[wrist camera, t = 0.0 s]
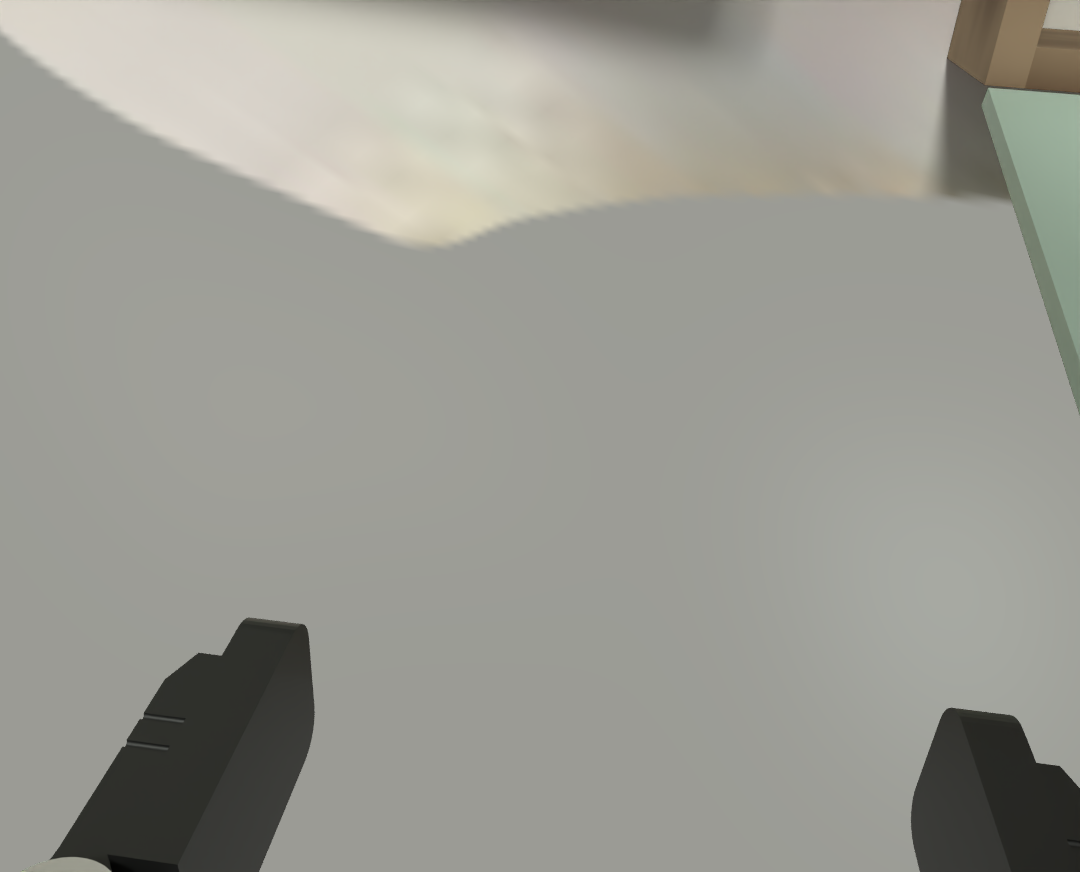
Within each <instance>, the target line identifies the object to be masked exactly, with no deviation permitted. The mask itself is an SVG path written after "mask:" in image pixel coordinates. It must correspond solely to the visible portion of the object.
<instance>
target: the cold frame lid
mask: <svg viewBox="0 0 1080 872" xmlns="http://www.w3.org/2000/svg"><path fill="white" fill-rule="evenodd" d="M981 106H982V109H983V112H984V115H985V118H986V122H987V125H988V128H989V131H990V134H991V137H992V140H993V144H994V147H995V150H996V153H997V156H998V159H999V162H1000V166H1001V169H1002V172H1003V175H1004V178H1005V181H1006V184H1007V188H1008V191H1009V194H1010V197H1011V200H1012V203H1013V207H1014V210H1015V213H1016V216H1017V218H1018V222H1019V225H1020V228H1021V231H1022V235H1023V238H1024V241H1025V244H1026V247H1027V251H1028V254H1029V257H1030V260H1031V263H1032V266H1033V269H1034V273H1035V276H1036V279H1037V282H1038V285H1039V288H1040V291H1041V295H1042V298H1043V301H1044V304H1045V307H1046V310H1047V314H1048V317H1049V320H1050V323H1051V326H1052V329H1053V332H1054V335H1055V339H1056V342H1057V345H1058V348H1059V351H1060V354H1061V357H1062V361H1063V364H1064V367H1065V370H1066V373H1067V376H1068V380H1069V383H1070V386H1071V389H1072V392H1073V395H1074V399H1075V402H1076V404H1077V408H1078V411H1079V414H1080V95H1074V94H1061V93H1049V92H1036V91H1024V90H1011V89H998V88H988V90H987V92H986V95H985V98H984V100H983V103H982V105H981Z"/></svg>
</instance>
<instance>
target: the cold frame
mask: <svg viewBox="0 0 1080 872" xmlns="http://www.w3.org/2000/svg"><path fill="white" fill-rule="evenodd" d="M1049 2H1050V0H961V4H960V8H959V12H958V16H957V20H956V24H955V28H954V33H953V37H952V41H951V45H950V49H949V53H948V57H947V59H949V60H950V61H952V62H953V63H954V64H956V65H957V66H959V67H960V68H961V69H963V70H964V71H966V72H967V73H968V74H970V75H971V76H973V77H974V78H975V79H977V80H978V81H980V82H981V83H982V84H984V85H989V86H1001V87H1014V88H1026V89H1039V90H1052V91H1064V92H1077V93H1080V31H1073V30H1059V29H1046V28H1042V26H1043V23H1044V20H1045V16H1046V13H1047V9H1048V6H1049Z"/></svg>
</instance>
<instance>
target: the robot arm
mask: <svg viewBox="0 0 1080 872" xmlns="http://www.w3.org/2000/svg"><path fill="white" fill-rule="evenodd" d="M313 726H314V698H313V685H312V673H311V661H310V648H309V636H308V631H307V628H306V626H305V625H303V624H296V623H287V622H280V621H272V620H264V619H256V618H246V619H245V620H243V622H242V623H241V624H240V625H239V627H238V629H237V630H236V632H235V634H234V636H233V637H232V639H231V641H230V643H229V644H228V646H227V648H226V649H225V651H224V653H223V655H222V656H218V655H211V654H204V653H198V654H197V655H195V656H194V657H193V658H192V659H190V660H189V661H188V662H187V663H185V664H184V665H183V666H182V667H180V668H179V669H178V670H176V671H175V672H174V673H173V674H171V675H170V676H169V677H168V678H166V679H165V680H164V682H163V683H162V685H161V686H160V688H159V690H158V691H157V693H156V694H155V696H154V698H153V699H152V701H151V702H150V704H149V706H148V707H147V709H146V710H145V712H144V717H143V719H140V720H139V721H138V723H137V725H136V726H135V728H134V729H133V731H132V733H131V734H130V736H129V737H128V739H127V744H126V746H125V747H122V748H121V750H120V752H119V753H118V755H117V756H116V758H115V760H114V761H113V763H112V764H111V766H110V768H109V769H108V771H107V772H106V774H105V775H104V777H103V779H102V780H101V782H100V783H99V785H98V786H97V788H96V790H95V791H94V793H93V794H92V796H91V798H90V799H89V801H88V802H87V804H86V806H85V807H84V809H83V810H82V812H81V813H80V815H79V817H78V818H77V820H76V822H75V823H74V825H73V826H72V828H71V829H70V831H69V832H68V834H67V836H66V837H65V839H64V840H63V842H62V844H61V845H60V847H59V848H58V850H57V851H56V852H55V854H54V855H53V857H52V858H51V859H50V860H48V861H45V862H41V863H38V864H36V865H34V866H31V867H29V868H27V869H25V870H23V871H21V872H259V870H260V868H261V865H262V863H263V860H264V858H265V856H266V853H267V851H268V849H269V846H270V844H271V841H272V839H273V837H274V834H275V832H276V829H277V827H278V825H279V822H280V820H281V817H282V815H283V812H284V810H285V808H286V805H287V803H288V800H289V798H290V796H291V793H292V791H293V788H294V786H295V783H296V781H297V779H298V776H299V774H300V772H301V769H302V767H303V764H304V762H305V759H306V757H307V753H308V750H309V747H310V743H311V738H312V733H313ZM911 829H912V839H913V844H914V849H915V853H916V857H917V861H918V865H919V870H920V872H1080V788H1079V787H1078V786H1077V785H1076V784H1075V783H1074V782H1073V780H1072V779H1071V778H1070V777H1069V776H1068V775H1067V774H1066V773H1065V771H1064V770H1063V769H1062V768H1061V767H1060V766H1055V765H1047V764H1040V763H1036V761H1035V759H1034V756H1033V754H1032V751H1031V749H1030V746H1029V744H1028V741H1027V738H1026V736H1025V733H1024V731H1023V729H1022V727H1021V724H1020V723H1019V721H1018V720H1017V719H1016V718H1015V717H1014V716H1011V715H1004V714H996V713H987V712H980V711H972V710H964V709H956V708H948V709H947V710H946V711H945V712H944V713H943V715H942V717H941V719H940V722H939V725H938V727H937V730H936V733H935V736H934V739H933V741H932V744H931V747H930V750H929V752H928V755H927V758H926V761H925V764H924V767H923V769H922V772H921V775H920V778H919V780H918V783H917V786H916V789H915V792H914V796H913V803H912V811H911Z"/></svg>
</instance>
